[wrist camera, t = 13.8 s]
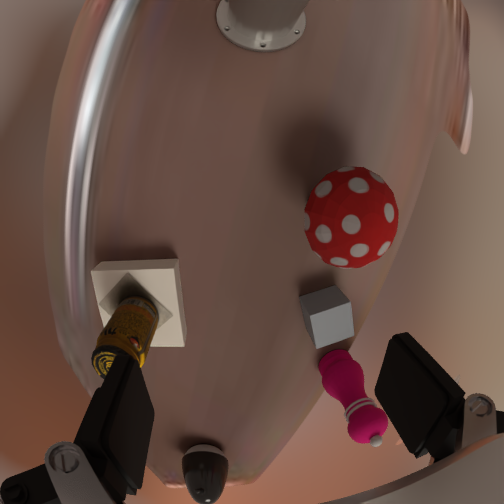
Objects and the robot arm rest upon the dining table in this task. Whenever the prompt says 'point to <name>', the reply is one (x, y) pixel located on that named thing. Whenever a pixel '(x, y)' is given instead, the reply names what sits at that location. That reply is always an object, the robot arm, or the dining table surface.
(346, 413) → the pepper mill
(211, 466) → the dark grey domed cylinder
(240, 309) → the dining table surface
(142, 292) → the condiment
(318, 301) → the slate cube
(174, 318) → the cream block
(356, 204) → the decorative mushroom
